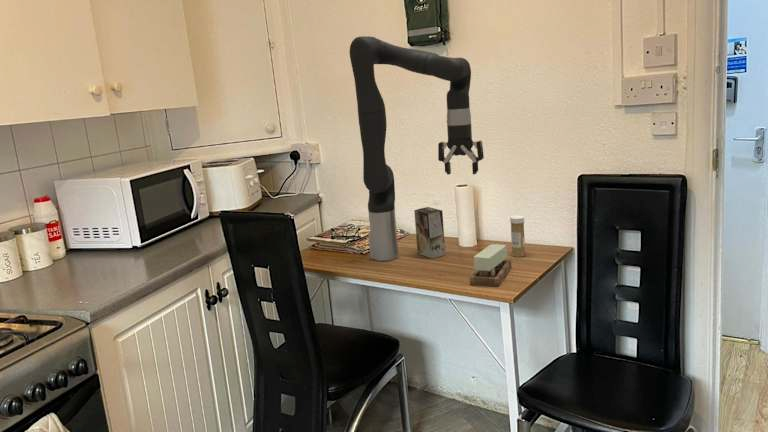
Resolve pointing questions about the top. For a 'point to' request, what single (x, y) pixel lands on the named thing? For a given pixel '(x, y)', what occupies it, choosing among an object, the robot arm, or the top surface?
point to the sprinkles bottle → (517, 235)
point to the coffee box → (430, 232)
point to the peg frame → (479, 278)
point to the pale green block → (490, 257)
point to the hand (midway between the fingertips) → (461, 174)
